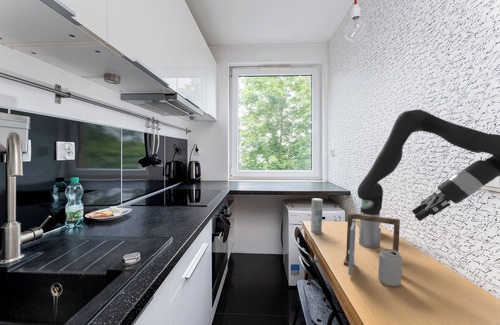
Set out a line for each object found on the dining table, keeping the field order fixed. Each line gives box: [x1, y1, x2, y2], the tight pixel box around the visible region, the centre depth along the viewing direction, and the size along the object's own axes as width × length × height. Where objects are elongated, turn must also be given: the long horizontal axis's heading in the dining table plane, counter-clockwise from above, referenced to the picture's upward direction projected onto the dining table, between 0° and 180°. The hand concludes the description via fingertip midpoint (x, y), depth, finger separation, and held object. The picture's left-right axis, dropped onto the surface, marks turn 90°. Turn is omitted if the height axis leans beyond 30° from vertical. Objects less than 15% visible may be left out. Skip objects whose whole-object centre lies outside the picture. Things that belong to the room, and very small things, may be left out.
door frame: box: [343, 212, 401, 267], centre depth 100 cm, size 21×8×22 cm, turn 62°
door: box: [347, 220, 357, 276], centre depth 97 cm, size 14×2×18 cm, turn 152°
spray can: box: [310, 197, 324, 234], centre depth 144 cm, size 6×6×20 cm
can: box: [377, 248, 403, 288], centre depth 88 cm, size 8×8×12 cm
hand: (415, 215), depth 84 cm, fingers open, 7 cm apart
